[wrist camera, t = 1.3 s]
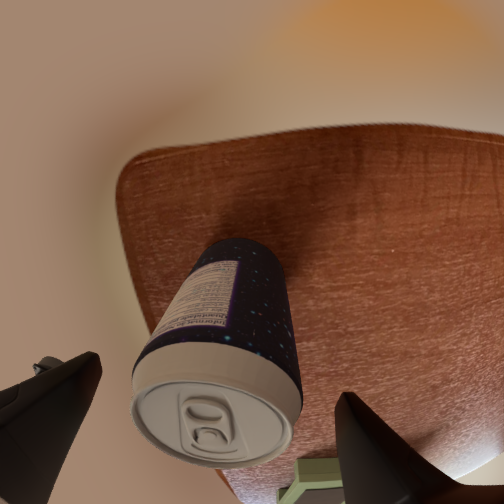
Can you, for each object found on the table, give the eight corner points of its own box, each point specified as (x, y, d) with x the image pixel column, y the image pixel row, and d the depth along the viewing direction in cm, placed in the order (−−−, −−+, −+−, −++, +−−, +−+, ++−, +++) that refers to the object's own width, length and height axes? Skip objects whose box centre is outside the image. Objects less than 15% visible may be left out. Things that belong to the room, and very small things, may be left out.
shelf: (276, 492, 29) (276, 519, 24) (297, 458, 25) (299, 494, 20) (373, 484, 29) (379, 508, 24) (411, 447, 25) (421, 475, 20)
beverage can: (200, 313, 19) (146, 462, 8) (192, 234, 17) (91, 353, 6) (282, 314, 19) (297, 474, 8) (284, 233, 17) (320, 367, 6)
